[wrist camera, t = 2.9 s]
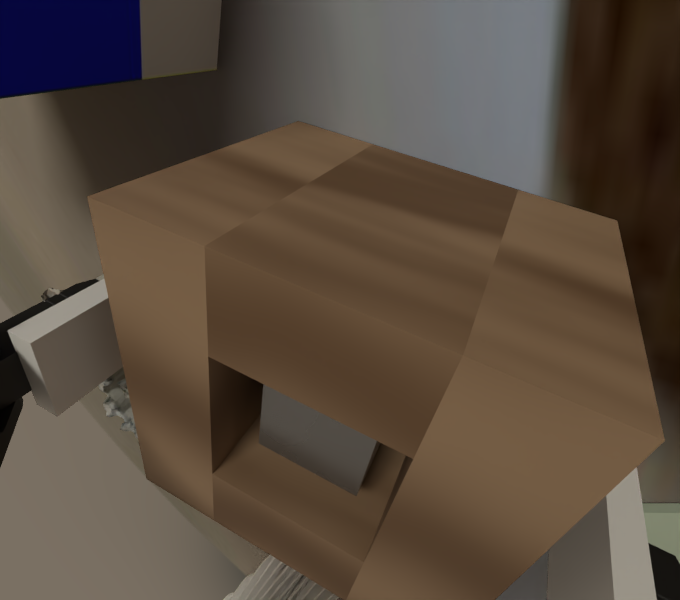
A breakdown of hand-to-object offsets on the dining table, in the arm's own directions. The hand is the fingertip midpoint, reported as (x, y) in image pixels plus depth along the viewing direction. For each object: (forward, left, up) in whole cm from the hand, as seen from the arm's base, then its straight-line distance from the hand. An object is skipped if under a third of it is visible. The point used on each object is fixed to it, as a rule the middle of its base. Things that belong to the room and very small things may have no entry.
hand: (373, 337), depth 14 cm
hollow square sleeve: (0, 0, -3) cm, 3 cm away
